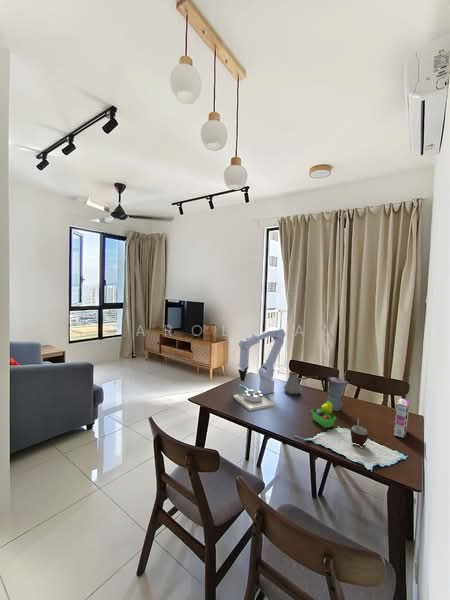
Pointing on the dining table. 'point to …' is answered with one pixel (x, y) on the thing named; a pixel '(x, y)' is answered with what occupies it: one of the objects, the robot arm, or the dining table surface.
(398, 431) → the candy bar box
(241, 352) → the robot arm
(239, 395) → the base plate
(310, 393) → the dining table surface
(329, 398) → the moka pot
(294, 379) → the coffee pot
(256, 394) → the teal elongated tool
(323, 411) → the fruit basket
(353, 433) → the mate gourd
